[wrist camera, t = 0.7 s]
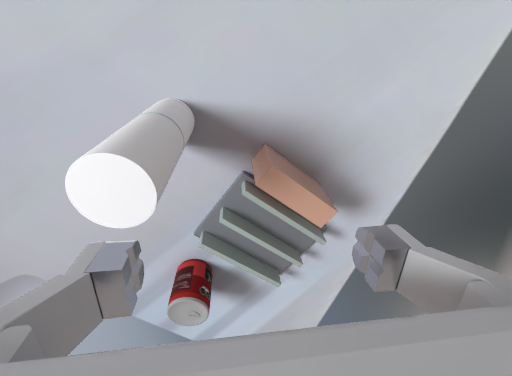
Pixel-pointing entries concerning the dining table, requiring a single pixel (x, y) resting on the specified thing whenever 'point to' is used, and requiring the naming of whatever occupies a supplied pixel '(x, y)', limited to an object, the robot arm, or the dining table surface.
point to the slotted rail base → (256, 231)
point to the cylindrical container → (131, 166)
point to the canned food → (191, 293)
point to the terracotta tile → (291, 186)
